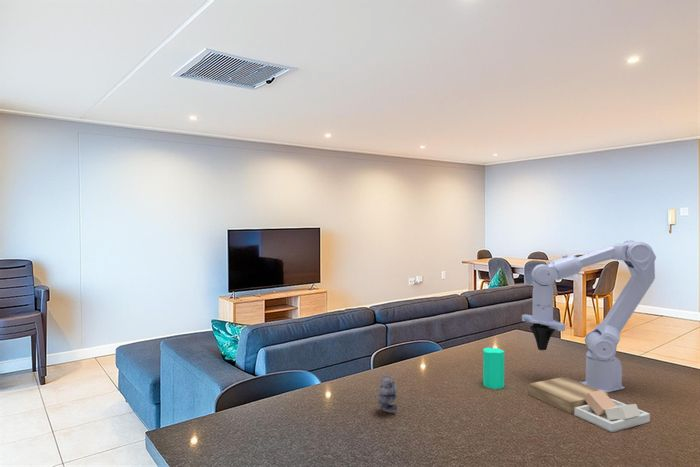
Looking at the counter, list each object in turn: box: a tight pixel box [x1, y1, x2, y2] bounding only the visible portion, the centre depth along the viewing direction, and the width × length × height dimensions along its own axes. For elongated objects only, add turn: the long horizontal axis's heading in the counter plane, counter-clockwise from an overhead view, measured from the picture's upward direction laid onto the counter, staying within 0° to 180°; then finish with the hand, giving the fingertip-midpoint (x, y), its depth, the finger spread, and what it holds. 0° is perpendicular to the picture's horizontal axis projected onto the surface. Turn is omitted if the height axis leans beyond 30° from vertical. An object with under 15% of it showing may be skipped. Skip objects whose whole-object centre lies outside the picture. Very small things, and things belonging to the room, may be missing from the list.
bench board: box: [527, 376, 610, 415], centre depth 123 cm, size 14×14×3 cm
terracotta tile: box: [584, 390, 617, 416], centre depth 114 cm, size 5×5×2 cm
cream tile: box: [605, 403, 640, 420], centre depth 109 cm, size 5×5×2 cm
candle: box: [482, 347, 505, 390], centre depth 134 cm, size 6×6×12 cm
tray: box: [574, 398, 651, 433], centre depth 111 cm, size 14×10×2 cm
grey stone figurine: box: [376, 374, 398, 413], centre depth 115 cm, size 5×5×10 cm
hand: (542, 349), depth 136 cm, fingers closed
